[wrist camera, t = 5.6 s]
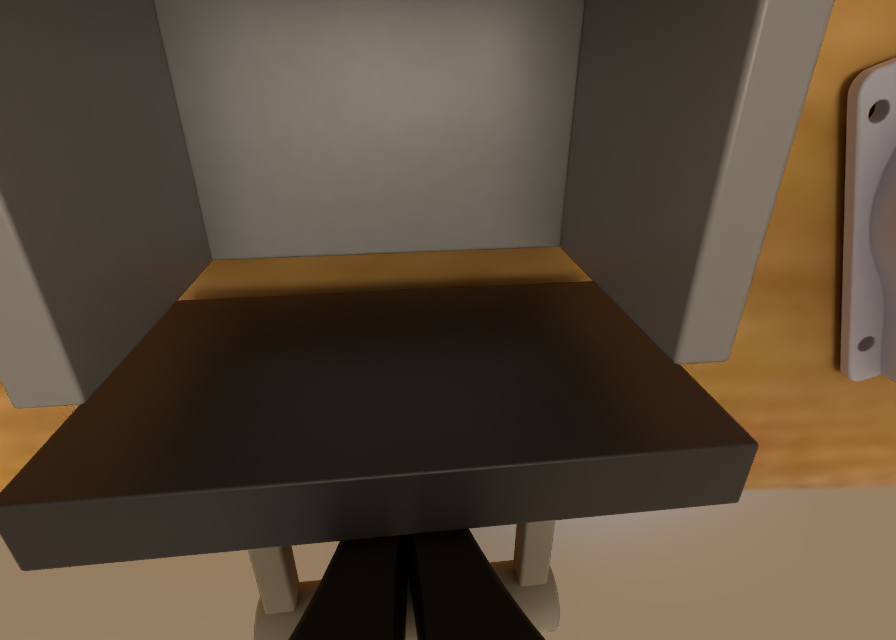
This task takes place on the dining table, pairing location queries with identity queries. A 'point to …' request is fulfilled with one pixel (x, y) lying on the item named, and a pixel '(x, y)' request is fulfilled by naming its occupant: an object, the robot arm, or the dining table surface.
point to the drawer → (377, 232)
